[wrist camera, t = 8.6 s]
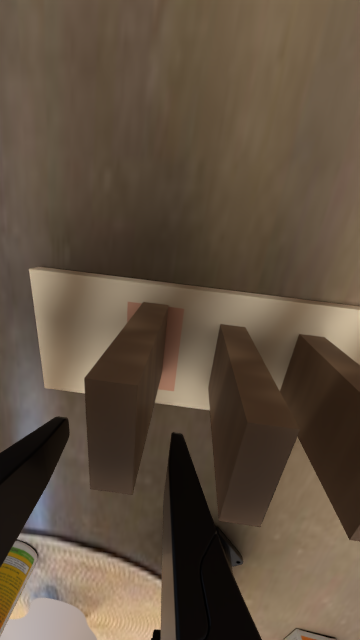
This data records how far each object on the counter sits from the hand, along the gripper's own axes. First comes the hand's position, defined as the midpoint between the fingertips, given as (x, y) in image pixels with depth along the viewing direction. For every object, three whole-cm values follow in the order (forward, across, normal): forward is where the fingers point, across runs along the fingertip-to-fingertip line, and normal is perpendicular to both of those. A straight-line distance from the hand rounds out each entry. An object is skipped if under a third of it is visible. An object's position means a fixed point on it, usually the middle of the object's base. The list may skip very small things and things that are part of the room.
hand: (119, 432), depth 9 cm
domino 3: (+7, -10, 0) cm, 12 cm away
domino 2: (+7, -5, 0) cm, 9 cm away
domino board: (+8, -8, 0) cm, 11 cm away
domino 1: (+7, 0, -1) cm, 7 cm away
